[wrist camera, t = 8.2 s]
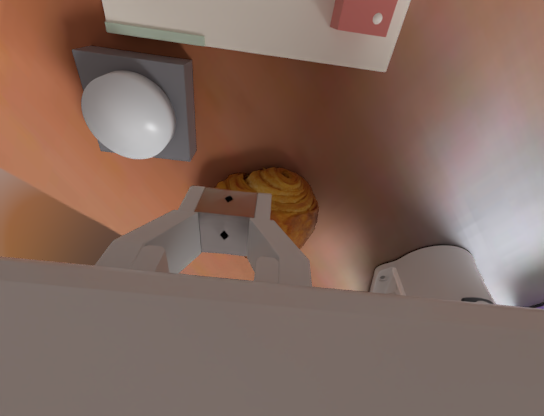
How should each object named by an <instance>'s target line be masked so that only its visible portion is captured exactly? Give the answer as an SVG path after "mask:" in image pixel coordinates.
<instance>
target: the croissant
mask: <svg viewBox="0 0 544 416" xmlns="http://www.w3.org/2000/svg"><path fill="white" fill-rule="evenodd" d="M263 169H264V170H258V171H253V172H252V173H251V174H250V175H249V174H246V173H236V174H233V175H232V174H231V175H229V176H228V178H227V179H226V180H224V181H221V182H219V183H218V184H217V186H216V187H214V188H219V189H226V190H232V191H242V192H254V193H269V194H271V195H272V198H271V213H270V220H274V221H275V222H276V223H277V224H278V226H279V227H280V228H281V229H282V230H283V231H284V232H285V234H286V235H287V236H288V237H289V238H290V239H291V240H292V241H293V243H294V244H295V245H296V246H297V247H298V248H299V249H300V248H302V246H303V245H304V244H305V242H306V241H307V239H308V238H309V236H310V235H311V234H312V232H313V231H314V229H315V225H316V223H317V218H318V211H319V207H318V202H317V200H316V199H315V196H314V194H313V192H312V189H311V187H310V185H309V184H308V182H307V181H306V180H305V179H303V178H302V177H301V176H299V175H298V174H297V173H295V172H291V171H289V170H286V169H284V168H275V167H272V168H268V169H265V168H264V167H263ZM244 257H245V258H247V256H244Z"/></svg>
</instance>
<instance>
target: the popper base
mask: <svg viewBox="0 0 544 416" xmlns="http://www.w3.org/2000/svg"><path fill="white" fill-rule="evenodd" d="M72 52H73V56H74V59H75V63H76V66H77V70H78V73H79V77H80V80H81V84H82V87H83V91H84V89H85V88H86V86H87V85H88V84H89V83H90V82H91V81H92V80H94V79H96V78H98V77H100V76H103V75H105V74H108V73H110V72H114V71H120V70H124V71H131V72H135V73H138V74H141V75H143V76H145V77H146V78H148V79H150V80H151V81H153V82H154V83H155V84H156V85H157V86H158V87H160V88H161V90H162V91H163V92H164V93H165V94H166V96H167V97H168V99H169V101H170V102H171V104H172V107H173V109H174V113H175V118H176V128H175V132H174V135H173V137H172V139H171V140H170V142H169V143H168V144H167V145H166V147H165V148H164V149H163V150H162V151H161V152H160V153H159V154H157V155H156V156H154V157H155V158H163V159H172V160H180V161H188V162H190V161H191V159H192V158H193V156H194V154H195V152H196V151H197V149H196V129H195V109H194V90H193V70H192V60H188V59H181V58H174V57H167V56H160V55H153V54H146V53H139V52H132V51H125V50H118V49H111V48H104V47H97V46H86V47H81V48H77V49H72ZM98 143H99V146H100V150H101V151H105V152H113V151H111V150H110V149H108V148H107V147H106V146H104V145H103V144H102V143H101V142H100V141H99V140H98ZM113 153H115V152H113Z"/></svg>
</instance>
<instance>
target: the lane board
mask: <svg viewBox="0 0 544 416" xmlns="http://www.w3.org/2000/svg"><path fill="white" fill-rule="evenodd" d="M410 1H411V0H398V1H397V4H396V7H395V10H394V14H393V17H392V20H391V23H390V26H389V29H388V32H387V35H386V37H380V36H374V35H367V34H361V33H354V32H348V31H341V30H336V29H334V28H332V27H330V23H331V19H332V14H333V9H334V4H335V0H102V4H103V8H104V13H105V18H106V22H105V26H106V31H107V32H108V33H115V34H122V35H129V36H135V37H142V38H149V39H156V40H163V41H170V42H177V43H184V44H190V45H197V46H208V47H214V48H221V49H228V50H235V51H242V52H249V53H256V54H263V55H269V56H276V57H283V58H290V59H297V60H304V61H311V62H317V63H324V64H331V65H338V66H345V67H352V68H359V69H366V70H372V71H379V72H386V70H387V67H388V64H389V61H390V59H391V56H392V53H393V50H394V47H395V44H396V41H397V38H398V36H399V33H400V30H401V27H402V24H403V21H404V18H405V15H406V13H407V10H408V7H409V4H410Z"/></svg>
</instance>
